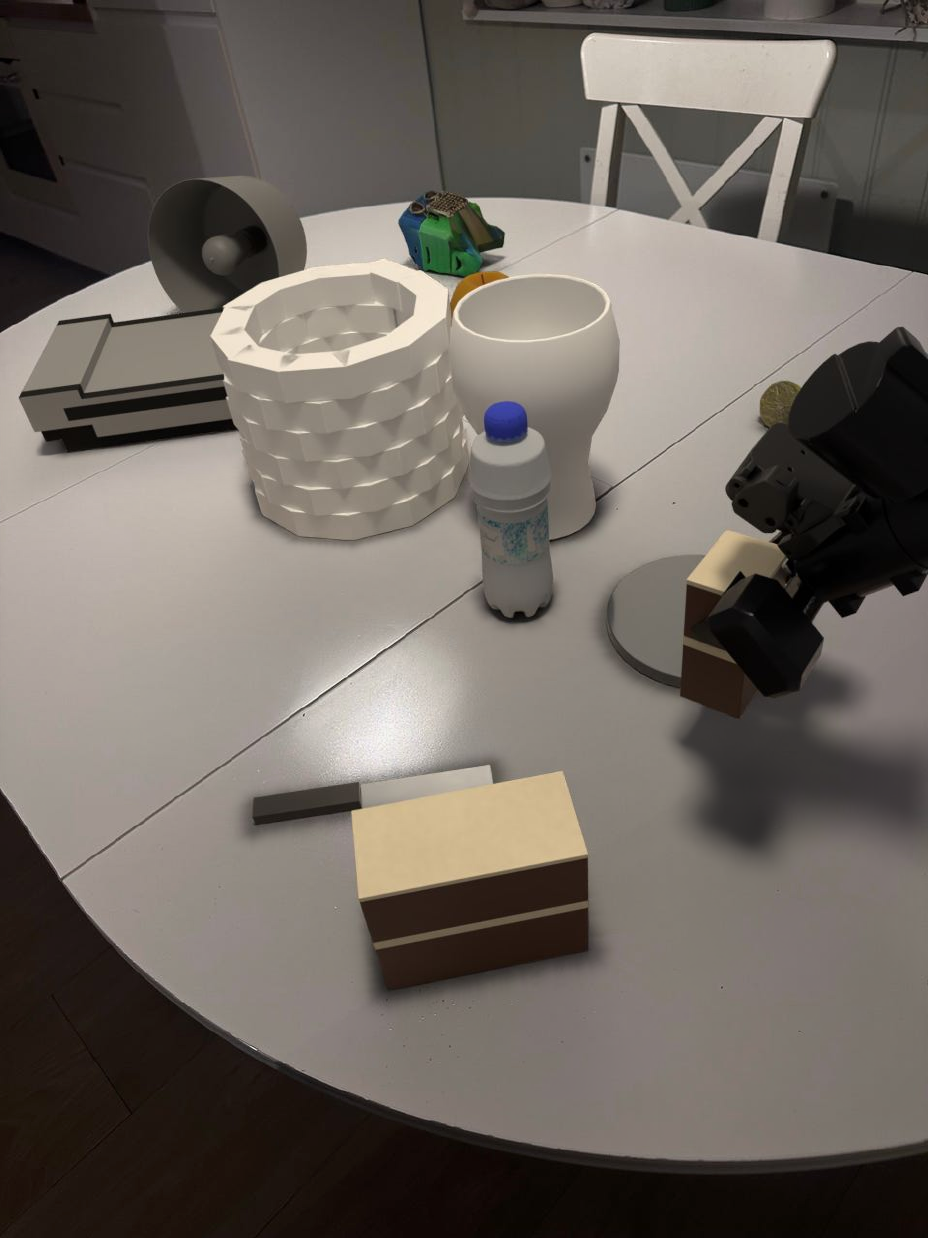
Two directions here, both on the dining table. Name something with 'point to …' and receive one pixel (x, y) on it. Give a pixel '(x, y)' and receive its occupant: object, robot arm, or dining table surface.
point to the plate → (652, 617)
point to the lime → (778, 402)
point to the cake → (472, 879)
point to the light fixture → (222, 239)
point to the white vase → (541, 373)
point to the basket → (344, 397)
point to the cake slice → (704, 665)
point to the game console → (128, 381)
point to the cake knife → (365, 794)
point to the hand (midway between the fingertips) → (715, 607)
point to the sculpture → (448, 233)
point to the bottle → (512, 510)
